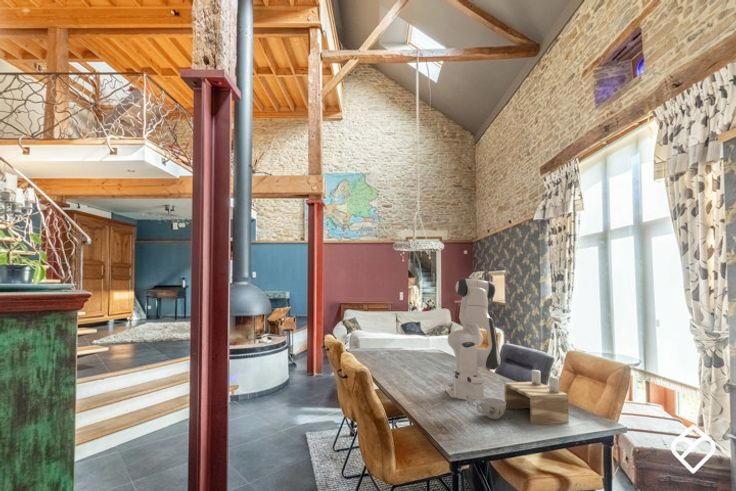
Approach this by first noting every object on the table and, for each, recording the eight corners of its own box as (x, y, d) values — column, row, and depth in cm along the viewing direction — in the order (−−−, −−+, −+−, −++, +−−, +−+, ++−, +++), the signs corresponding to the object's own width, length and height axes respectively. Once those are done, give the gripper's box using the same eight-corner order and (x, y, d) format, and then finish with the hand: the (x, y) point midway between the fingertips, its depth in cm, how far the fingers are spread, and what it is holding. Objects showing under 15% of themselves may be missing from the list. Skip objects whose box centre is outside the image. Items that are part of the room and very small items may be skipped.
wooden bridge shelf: (504, 408, 206) (504, 382, 207) (537, 406, 210) (536, 381, 211) (532, 424, 182) (532, 395, 184) (568, 422, 187) (568, 394, 188)
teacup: (499, 412, 198) (499, 397, 199) (511, 421, 186) (511, 404, 187) (471, 413, 196) (471, 397, 197) (482, 422, 184) (482, 405, 185)
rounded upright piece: (530, 383, 207) (529, 369, 208) (537, 382, 208) (537, 369, 209) (535, 385, 203) (535, 371, 204) (542, 385, 204) (542, 371, 204)
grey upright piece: (547, 390, 194) (547, 376, 194) (554, 390, 194) (554, 376, 195) (553, 393, 189) (552, 378, 190) (560, 392, 190) (560, 378, 191)
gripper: (453, 371, 199) (454, 399, 197) (473, 380, 179) (474, 411, 178) (464, 371, 201) (465, 398, 199) (485, 380, 181) (486, 410, 179)
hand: (469, 404), depth 188 cm, fingers closed
